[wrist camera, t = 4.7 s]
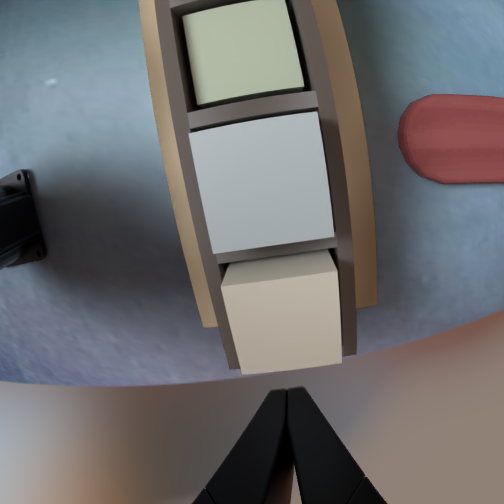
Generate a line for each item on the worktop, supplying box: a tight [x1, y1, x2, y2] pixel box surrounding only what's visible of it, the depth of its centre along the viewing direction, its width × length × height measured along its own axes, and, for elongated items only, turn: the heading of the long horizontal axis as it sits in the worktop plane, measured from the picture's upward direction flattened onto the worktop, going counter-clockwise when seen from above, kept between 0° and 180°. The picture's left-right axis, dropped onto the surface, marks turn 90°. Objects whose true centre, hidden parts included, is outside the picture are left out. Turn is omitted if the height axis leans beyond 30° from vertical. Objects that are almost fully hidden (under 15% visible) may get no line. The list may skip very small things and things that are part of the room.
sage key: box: [182, 0, 304, 109], centre depth 11 cm, size 4×4×3 cm
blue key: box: [189, 112, 334, 254], centre depth 11 cm, size 4×4×3 cm
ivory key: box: [221, 249, 342, 375], centre depth 13 cm, size 4×4×3 cm
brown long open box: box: [139, 0, 378, 369], centre depth 13 cm, size 10×21×6 cm, turn 10°
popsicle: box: [398, 94, 504, 184], centre depth 14 cm, size 5×2×15 cm
